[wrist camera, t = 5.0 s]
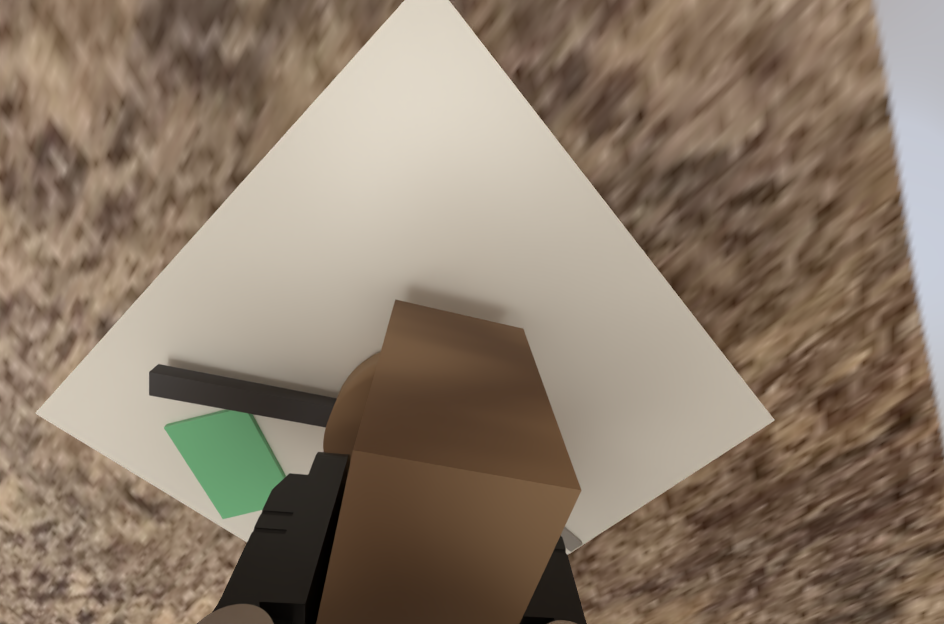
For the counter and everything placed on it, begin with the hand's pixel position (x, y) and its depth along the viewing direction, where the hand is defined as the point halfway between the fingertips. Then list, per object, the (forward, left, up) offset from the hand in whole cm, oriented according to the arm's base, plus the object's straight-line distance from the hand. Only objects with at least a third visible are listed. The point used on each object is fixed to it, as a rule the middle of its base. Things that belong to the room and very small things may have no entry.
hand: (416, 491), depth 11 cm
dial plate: (0, 0, -4) cm, 4 cm away
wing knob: (+2, +1, -2) cm, 3 cm away
